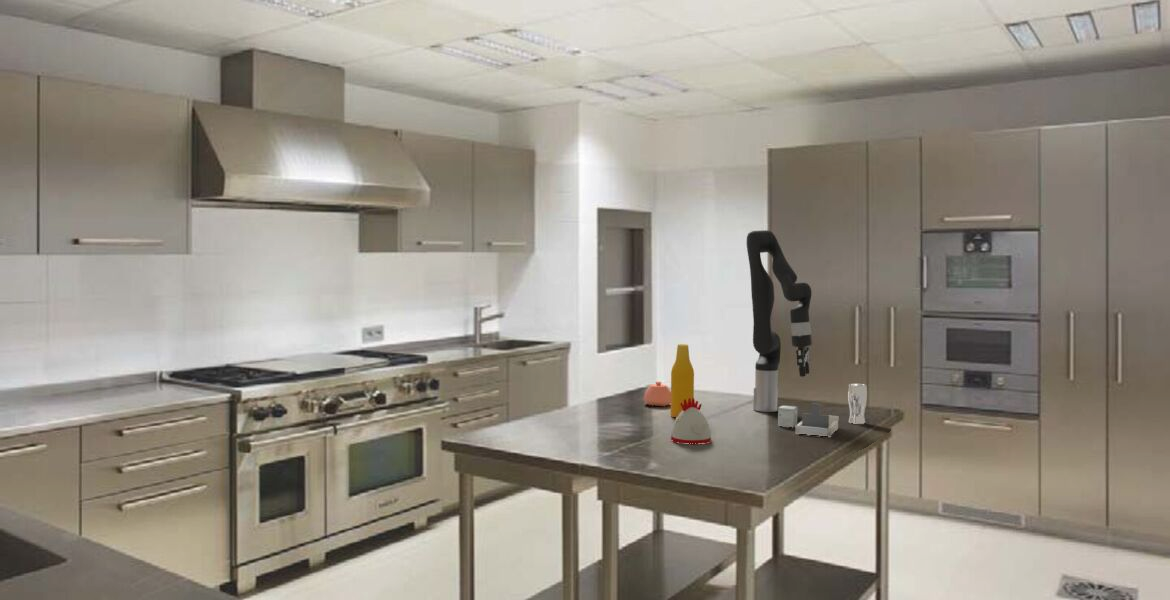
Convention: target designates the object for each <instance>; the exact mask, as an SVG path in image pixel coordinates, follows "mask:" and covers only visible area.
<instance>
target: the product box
mask: <svg viewBox="0 0 1170 600" xmlns="http://www.w3.org/2000/svg"><path fill="white" fill-rule="evenodd" d="M777 412H778V413H777V426H778V427H780V426H782V427H783V428H789V427H792V428H791V429H794V428H795V426H796V425H797V424H798V406H795V405H794V406H793V405H781V406H778V407H777ZM793 427H794V428H793Z"/></svg>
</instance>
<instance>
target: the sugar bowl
mask: <svg viewBox="0 0 1170 600" xmlns="http://www.w3.org/2000/svg"><path fill="white" fill-rule="evenodd" d="M643 400H644V402H645V403H646V404H647V405H649V406H650V405H655V406H657V407H658V406H660V407H661V406H665V407H666V406H669V405H671V389H670V388H669V386H667V385H666V384H664V383H663V384H662V381H655V383H654V384H650V385H648V387H647V389H646V391H645V393H644V397H643ZM655 406H654V407H655Z"/></svg>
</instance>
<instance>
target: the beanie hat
mask: <svg viewBox="0 0 1170 600" xmlns="http://www.w3.org/2000/svg"><path fill="white" fill-rule="evenodd" d="M680 404H681V407H682V409H683V411H682V412H681V413H680V414H679V415H678V416H677V418H675V420H674V422H673V426H672V430H671V434H670V440H673V441H675V442H679V443H689V444H690V443H691V444H692V443H693V444H695V443H696V444H698V443H707V442H710V441H712V434H711V429H710V426H709V423H708V420H707V418H706V416H705V415H704V414H703V412H701V408H702V403H699V400H696V401H695V398H692V402H691V399H690V398H689V399H688V404H687V402H686V399H684V405H683V404H682V403H680ZM698 404H699V405H698ZM675 442H674V443H675ZM679 443H678V444H679ZM710 443H711V442H710ZM707 444H708V443H707Z"/></svg>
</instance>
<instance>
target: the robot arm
mask: <svg viewBox="0 0 1170 600" xmlns="http://www.w3.org/2000/svg"><path fill="white" fill-rule="evenodd" d="M746 252H747V256H748V262H749V270H750V271H749V272H750V273H749V275H750V287H751V288H750V290H751V303H752V314H753V315H752V317H753V326H752V327H753V329H752V334H753V335H752V343H753V344H752V345H753V348H754V349H755V351H756V353H758V354H759V356H758V359H757V360H756V362H755V374H754V375H755V381H754V387H753V411H756V412H763V413H764V412H765V413H774V412H778V395H779V394H778V392H779V391H778V388H779V387H778V385H779V384H778V381H779V379H778V377H779V365H780V359H781V346H782V345H781V344H782V343H781V337H780V336H779V334H778V333H777V332H775V331H774V330H773V331H772V329H771V328H772V326H771V317H772V312H773V309H774V303H775V289H774V285H775V284H774V282H773V279H772V277H771V276H770V275H769V273H768V271H766V269H765V267H764V265H763V262H762V258H761V253H762V254H763V253H769V255H770V256H771V257H772V263H771V264H772V268H771V269H772V272H773V274H774V276H775V278H776V279H777V280H778V282H779V284H780V286H781V290H782V292H783V293H782V294H783V297H784V298H785V299H786V301H788V302H791V303H792V302H793V303H794V302H798V303H797V306H795V307H793V308H791V309H790V312H789V313H790V314H789V315H790V333H791V334H790V335H791V345H792V347H795V348H797V350H796V351H795V353H796V365H797V367H798V371H799V372H798V373H799V377H801V378H803V377H804V378H805V377H806V375H807V374H810V365H809V364H810V362H811V359H810V357H811V356H810V346H812V345H813V340H812V339H813V338H812V329H811V328H812V327H811V324H810V314H809V312H810V311H809V310H810V305H811V299H812V293H813V292H812V288H811V286H810V284H808V283H807V282H798V283H797V281H798V280H797V279H798V276H797V274H796V272H795V271H794V269H793V268H792V267H791V265H790V264H789V262H788V260H787V259H786V257H785V255H784V253H783V250H782V248H781V245H780V244H779V241H778V239H777V237H776V235H775V234H774V232H772V231H771V230H767V229H766V230H751V231H749V232H748V233H747V236H746Z"/></svg>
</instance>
